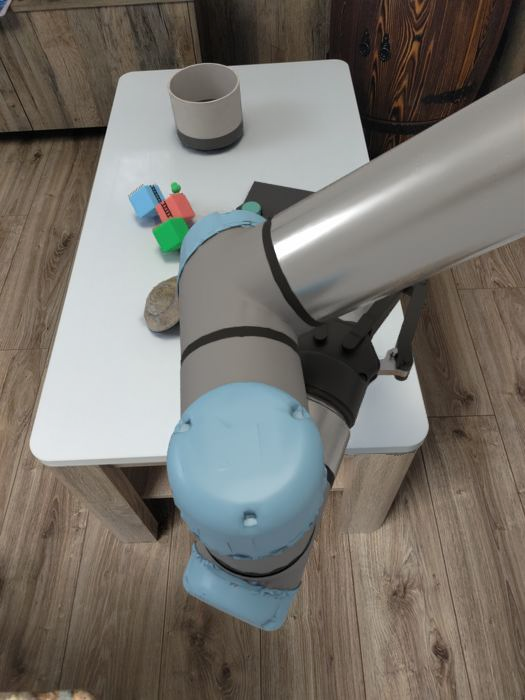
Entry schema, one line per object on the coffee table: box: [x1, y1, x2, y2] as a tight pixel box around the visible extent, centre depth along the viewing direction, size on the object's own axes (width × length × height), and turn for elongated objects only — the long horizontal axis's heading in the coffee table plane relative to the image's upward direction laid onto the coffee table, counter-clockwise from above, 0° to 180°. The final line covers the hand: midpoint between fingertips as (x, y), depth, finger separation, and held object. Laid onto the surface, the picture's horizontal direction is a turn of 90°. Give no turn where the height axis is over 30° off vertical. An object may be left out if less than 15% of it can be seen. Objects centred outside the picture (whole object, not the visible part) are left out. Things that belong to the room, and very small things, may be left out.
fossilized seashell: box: [143, 274, 180, 333], centre depth 73 cm, size 11×11×7 cm
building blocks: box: [127, 181, 196, 254], centre depth 81 cm, size 8×8×12 cm
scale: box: [234, 180, 316, 220], centre depth 83 cm, size 14×13×3 cm
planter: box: [167, 62, 244, 151], centre depth 93 cm, size 13×13×10 cm
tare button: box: [242, 202, 261, 216], centre depth 81 cm, size 3×3×2 cm
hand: (385, 220), depth 51 cm, fingers closed on chalice, 5 cm apart
